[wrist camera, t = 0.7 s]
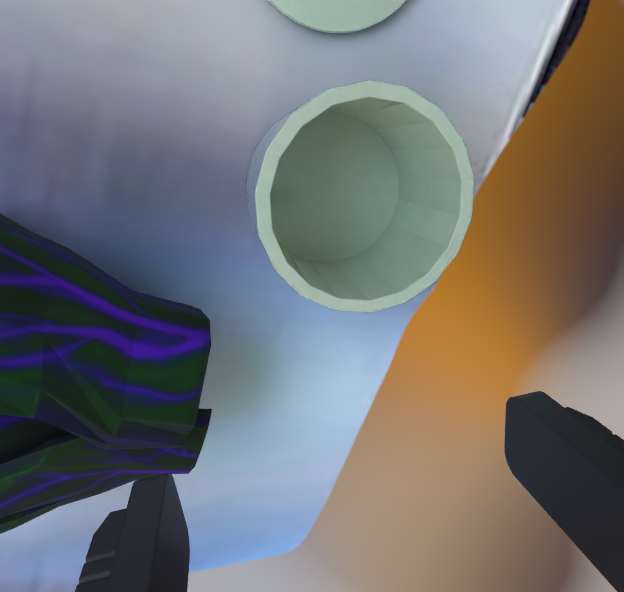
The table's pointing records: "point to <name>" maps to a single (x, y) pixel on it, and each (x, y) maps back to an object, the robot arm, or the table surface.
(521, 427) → the robot arm
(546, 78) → the table surface
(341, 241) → the pot
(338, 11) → the pot lid
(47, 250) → the decorative plant
